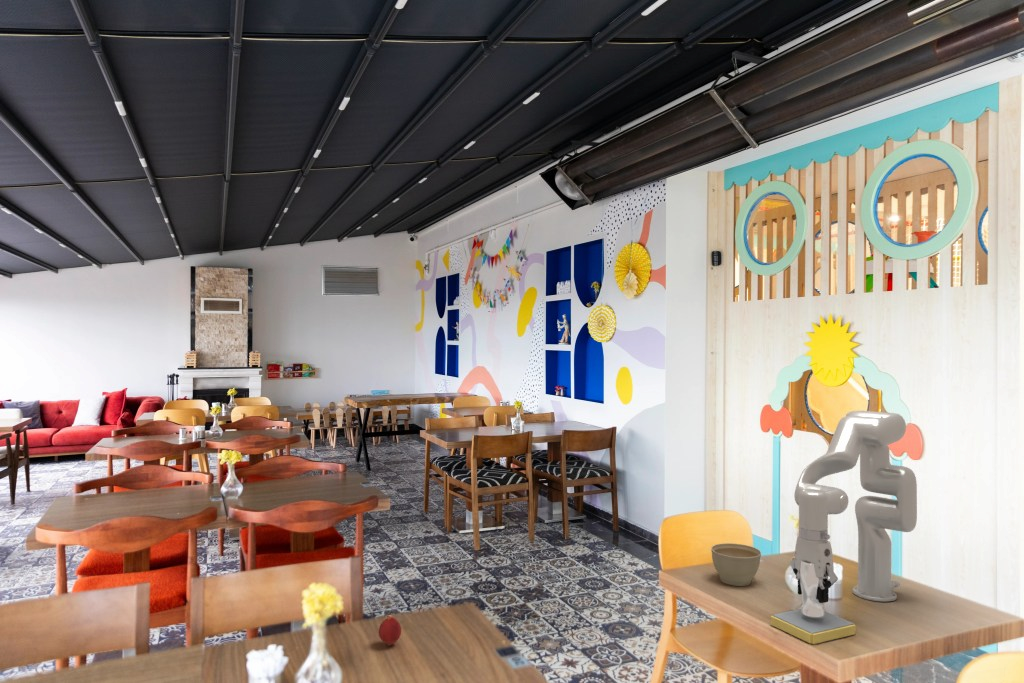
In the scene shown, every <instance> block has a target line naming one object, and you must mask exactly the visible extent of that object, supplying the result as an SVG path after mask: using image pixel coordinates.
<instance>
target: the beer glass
mask: <svg viewBox="0 0 1024 683" xmlns="http://www.w3.org/2000/svg"><path fill="white" fill-rule="evenodd" d="M824 576H825V574H824ZM799 579H800V586H801V591H802V594H801V596H802V599H801V600H802V601H801V602H802V604H801V608H800V609H801V613H802V614H803V615H805V616H807V617H812V618H822V617H824V611H825V610H824V603H819V601H818V589H819V588H820V585H819V578H817V577H816V574H815V570H814V564H811V563H806V562H804V561H802V560H801V559H800V569H799ZM823 582H824V583H825V579H823Z"/></svg>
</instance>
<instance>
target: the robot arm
mask: <svg viewBox="0 0 1024 683" xmlns="http://www.w3.org/2000/svg"><path fill="white" fill-rule="evenodd" d="M836 425H837V426H836V428H835V431H834V433H833V435H832V439H831V441H830V443H829V446H828V448H827V451H826V453H825V454H823V455H821V456H820V457H818V458H816V459H815V460H813V461H812V462H810V463H809V464H808V465H806V467H805V468H804V469H803V471H802V472H801V474H800V476H799V478H798V481H797V484H796V486H795V490H794V494H793V495H794V502H795V503H796V505H797V506H798V535H797V537H796V541H795V542H796V543H795V549H794V558H793V559H791V561H789V565H790V567H791V569H792V572H793V573H794V575H795V579H796V581H797V594H798V595H800V596H802V591H801V586H800V579H799V569H800V559H801V560H802V561H804V562H806V563H811V564H814V570H815V574H816V577H817V578H819V585H820V588H819V589H818V601H819V603H823V604H824V603H828V602H829V598H830V597H829V596H830V595H829V594H830V593H829V592H830V590H829V589H830V588H831V587H832V586H834V584H835V583H836V582H837V581H838V580H839V578H838V576H837V574H836V573H835V572H834V568H835V567H834V555H833V550H832V545H831V544H832V543H831V542H830V541H829V540H830V538H831V536H830V534H829V532H828V530H829V529H828V528H829V527H828V526H829V522H828V521H829V518H828V515H841V513H843V512H845V511H846V509H847V508H848V505H849V497H848V494H847V493H846V491H845V490H843V489H841V488H839V487H834V486H827V485H824V484H817V482H818V481H820V480H821V479H822V478H824V477H828V476H830V475H835V474H838V473H843V472H847V471H849V470H852V469H854V468H855V466H857V463H858V460H859V481H860V486H861V487H862V489H863V490H865V491H866V492H870V493H874V494H880V495H881V494H882V495H888V496H892V497H893V496H894V497H896V499H895V498H894V499H893V498H888V497H881V496H875V495H865V496H860V497H859V498H858V499H857V500H856V502H855V504H854V513H855V518H856V519H855V520H856V525H857V535H858V536H857V538H858V539H857V552H858V553H857V585H855V586H853V587H852V593H853V595H855V596H857V597H858V598H861V599H865V600H868V601H874V602H882V603H885V602H886V603H887V602H893V601H895V600H897V599H898V596H897V595H898V594H897V593H896V592H895V591H893V589H894V588H899V587H901V582H900V581H899V580H892V541H891V538H890V535H889V534H888V532H887V531H886V530H891V531H896V532H901V533H910V532H912V531H914V530H915V528H916V526H917V520H918V484H917V482H918V481H917V477H916V474H915V472H914V471H913V470H912V469H911V468H910V467H908V466H904V465H897V464H896V465H895V464H891V460H890V447H889V445H891V444H894V443H896V442H899V441H900V440H901V439H902V438H904V436H905V434H906V430H907V424H906V421H905V419H904V417H903V416H902V415H901V414H899V413H895V412H884V411H883V412H881V411H875V410H874V411H872V410H852V411H849V412H848V413H846V414H845V416H844V417H842V418H841V419H840V420H839V421H838V423H837V424H836ZM824 574H825V576H824ZM823 579H825V583H824V582H823Z"/></svg>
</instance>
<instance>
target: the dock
mask: <svg viewBox="0 0 1024 683" xmlns="http://www.w3.org/2000/svg"><path fill="white" fill-rule="evenodd" d="M770 625H771V626H772V627H775V628H777V629H779V630H781V631H783V632H785V633H788V634H790V635H792V636H793V637H795V638H798V639H800V640H802V641H804V642H806V643H808V644H811V645H816V644H820V643H825V642H828V641H832V640H833V641H834V640H837V639H840V638H844V637H845V638H846V637H849V636H854V635H856V634H857V633H856V632H857V630H856V629H857V626H856V624H855V623H854V622H851V621H849V620H846V619H844V618H841V617H840V616H837V615H834V614H832V613H829V612H827V611H825V610H824V617H822V618H812V617H807V616H805V615H803V614H802V613H801V608H798V609H793V610H790V611H785V612H784V611H783V612H780V613H774V614H772V615H771V616H770Z"/></svg>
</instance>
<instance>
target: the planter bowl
mask: <svg viewBox="0 0 1024 683" xmlns="http://www.w3.org/2000/svg"><path fill="white" fill-rule="evenodd" d="M710 551H711V558H712V560H711V561H712V564H713V566H714V569H715V570H716V572H717V574H718V575H719V577H720V581H721V582H722V583H724V584H726V585H730V586H733V587H746V586H749V585H751V582H752V580H753V578H755V576H756V574H757V573H758V570H759V567H760V564H761V557H762V552H761V550H760V549H758V548H756V547H755V546H754V547H753V546H750V545H747V544H741V543H732V542H731V543H729V542H726V543H725V542H723V543H718V544H714V545H712V546H711V547H710Z"/></svg>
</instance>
